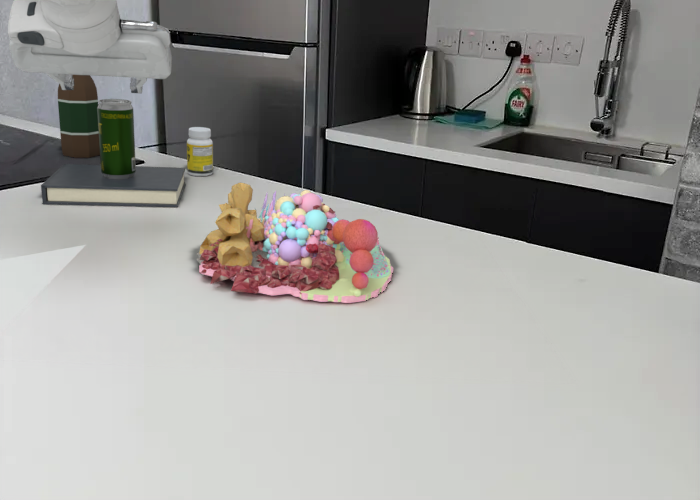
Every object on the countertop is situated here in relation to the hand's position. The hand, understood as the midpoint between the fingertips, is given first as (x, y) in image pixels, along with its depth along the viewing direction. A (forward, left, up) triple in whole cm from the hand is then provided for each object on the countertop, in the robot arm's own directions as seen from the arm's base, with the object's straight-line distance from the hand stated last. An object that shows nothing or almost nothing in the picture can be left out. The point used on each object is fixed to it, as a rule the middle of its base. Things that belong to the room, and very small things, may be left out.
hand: (103, 88), depth 98 cm
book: (0, +9, -18) cm, 20 cm away
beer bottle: (-12, +37, -18) cm, 43 cm away
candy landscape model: (+27, -22, -18) cm, 39 cm away
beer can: (0, +9, -15) cm, 18 cm away
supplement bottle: (+12, +24, -18) cm, 32 cm away
